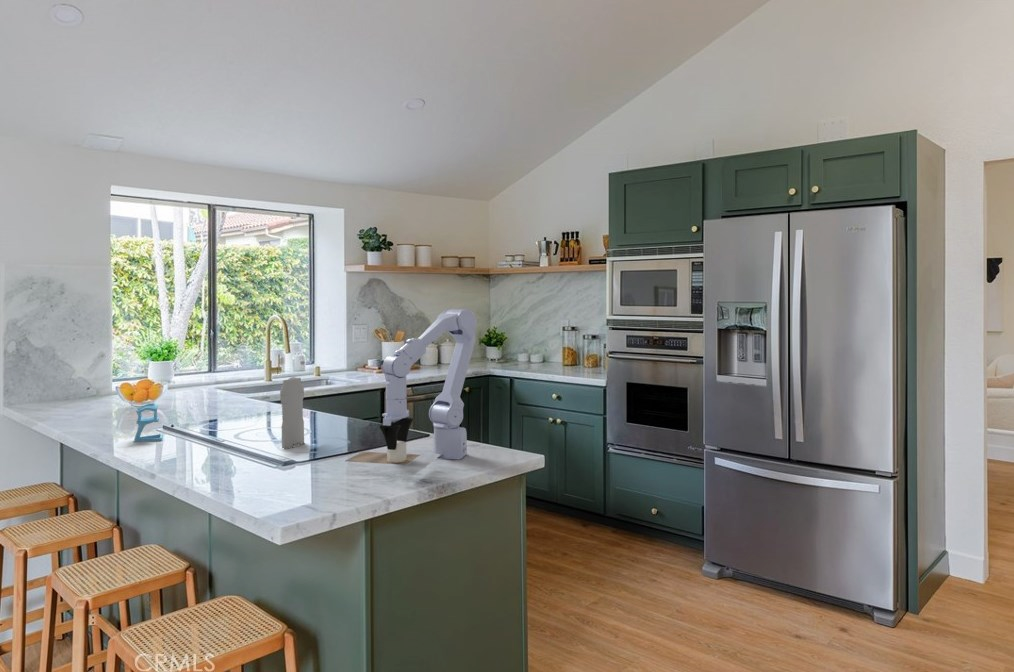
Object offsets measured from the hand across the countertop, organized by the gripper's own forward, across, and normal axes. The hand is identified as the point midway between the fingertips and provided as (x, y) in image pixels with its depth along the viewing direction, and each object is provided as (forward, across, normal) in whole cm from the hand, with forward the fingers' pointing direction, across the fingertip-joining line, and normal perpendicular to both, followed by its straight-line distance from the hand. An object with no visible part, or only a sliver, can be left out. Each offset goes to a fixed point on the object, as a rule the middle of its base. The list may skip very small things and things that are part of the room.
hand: (396, 446), depth 199 cm
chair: (+6, -15, -94) cm, 95 cm away
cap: (+4, 0, 0) cm, 4 cm away
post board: (+5, -2, -5) cm, 8 cm away
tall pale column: (+6, -17, -42) cm, 46 cm away
